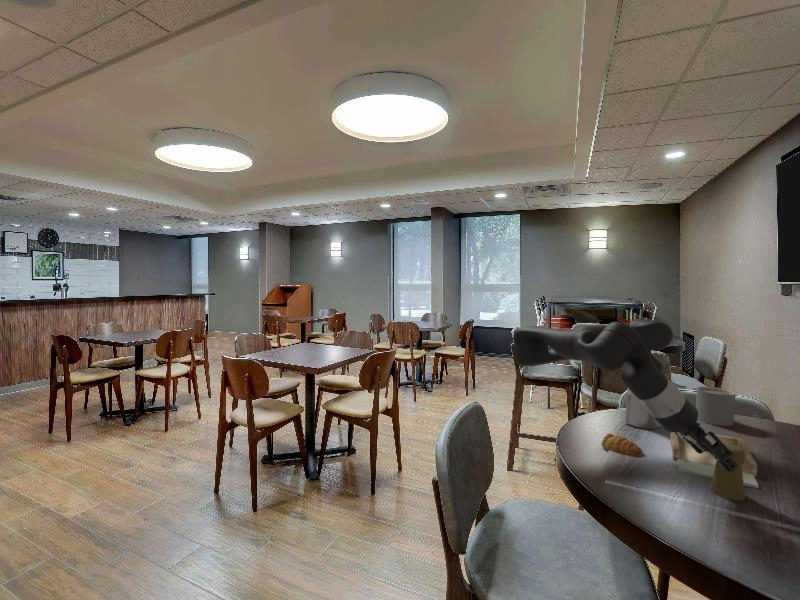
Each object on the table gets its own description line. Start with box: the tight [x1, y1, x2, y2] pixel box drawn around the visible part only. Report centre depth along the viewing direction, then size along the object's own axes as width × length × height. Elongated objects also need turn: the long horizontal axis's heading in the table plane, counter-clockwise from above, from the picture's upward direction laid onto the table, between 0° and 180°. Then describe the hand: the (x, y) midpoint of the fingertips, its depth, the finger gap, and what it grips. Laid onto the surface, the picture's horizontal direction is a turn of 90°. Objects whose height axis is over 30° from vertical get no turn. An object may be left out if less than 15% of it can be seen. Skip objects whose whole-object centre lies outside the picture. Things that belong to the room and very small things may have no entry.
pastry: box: [601, 433, 644, 457], centre depth 108 cm, size 9×7×4 cm
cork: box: [709, 443, 746, 502], centre depth 86 cm, size 6×6×11 cm
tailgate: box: [676, 459, 759, 489], centre depth 95 cm, size 14×1×6 cm
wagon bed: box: [669, 432, 758, 478], centre depth 106 cm, size 16×18×4 cm
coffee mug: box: [695, 386, 736, 427], centre depth 135 cm, size 13×10×10 cm
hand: (717, 459), depth 86 cm, fingers open, 8 cm apart
